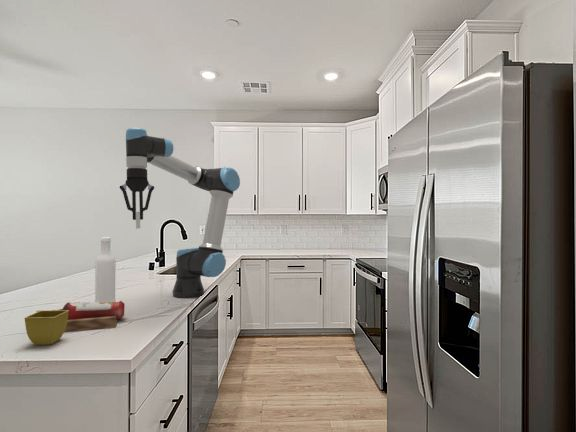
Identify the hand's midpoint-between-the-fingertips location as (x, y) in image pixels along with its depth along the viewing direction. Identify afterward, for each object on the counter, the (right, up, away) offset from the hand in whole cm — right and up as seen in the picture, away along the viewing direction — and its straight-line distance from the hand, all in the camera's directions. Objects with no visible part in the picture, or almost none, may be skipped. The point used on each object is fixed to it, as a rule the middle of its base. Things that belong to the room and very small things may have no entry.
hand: (138, 228), depth 144 cm
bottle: (-19, -35, +13) cm, 42 cm away
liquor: (-3, -31, -6) cm, 31 cm away
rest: (-16, -34, -13) cm, 40 cm away
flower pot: (-16, -35, -31) cm, 49 cm away
